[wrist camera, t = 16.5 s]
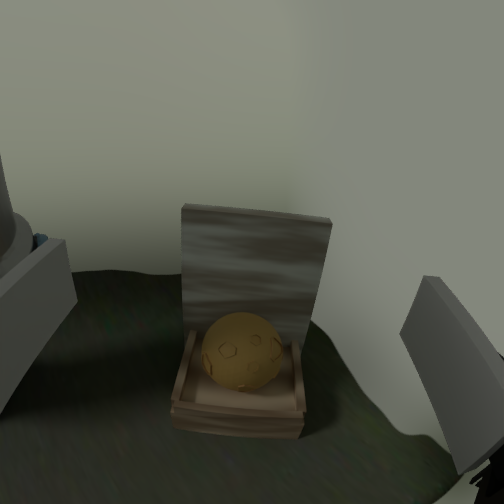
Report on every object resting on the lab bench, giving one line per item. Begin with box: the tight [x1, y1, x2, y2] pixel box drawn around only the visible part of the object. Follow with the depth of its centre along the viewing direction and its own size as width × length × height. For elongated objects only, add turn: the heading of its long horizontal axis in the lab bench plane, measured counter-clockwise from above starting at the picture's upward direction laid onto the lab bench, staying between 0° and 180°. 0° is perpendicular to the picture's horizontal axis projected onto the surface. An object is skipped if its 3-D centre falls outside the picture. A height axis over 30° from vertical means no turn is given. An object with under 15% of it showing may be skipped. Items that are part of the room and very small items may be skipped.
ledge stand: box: [170, 204, 332, 439], centre depth 35 cm, size 16×18×24 cm
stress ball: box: [201, 312, 283, 393], centre depth 36 cm, size 10×10×10 cm
